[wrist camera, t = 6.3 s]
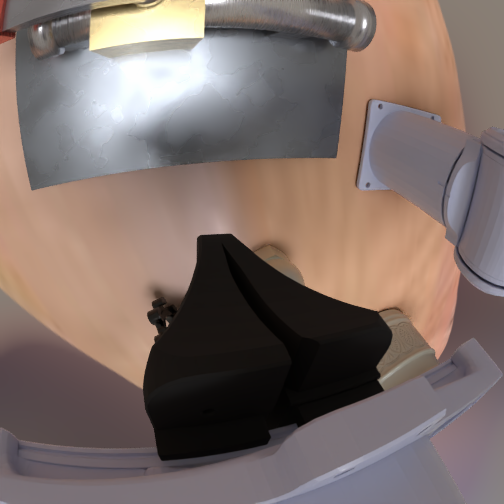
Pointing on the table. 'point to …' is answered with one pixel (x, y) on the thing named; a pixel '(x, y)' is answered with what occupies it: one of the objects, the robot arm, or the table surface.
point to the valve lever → (48, 12)
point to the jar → (404, 352)
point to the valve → (265, 253)
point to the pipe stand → (184, 84)
